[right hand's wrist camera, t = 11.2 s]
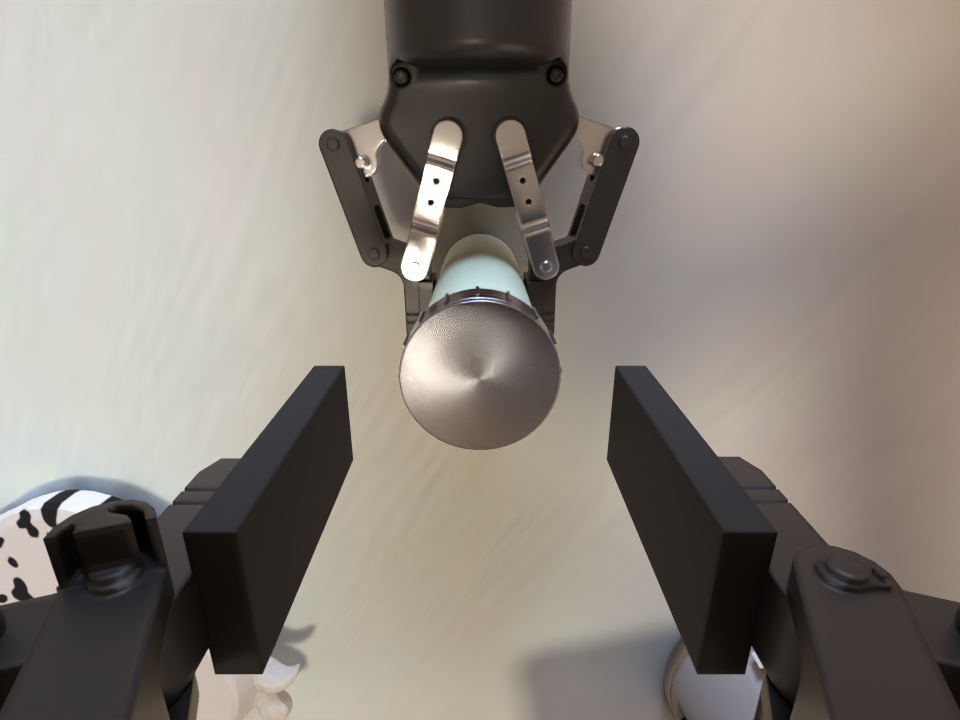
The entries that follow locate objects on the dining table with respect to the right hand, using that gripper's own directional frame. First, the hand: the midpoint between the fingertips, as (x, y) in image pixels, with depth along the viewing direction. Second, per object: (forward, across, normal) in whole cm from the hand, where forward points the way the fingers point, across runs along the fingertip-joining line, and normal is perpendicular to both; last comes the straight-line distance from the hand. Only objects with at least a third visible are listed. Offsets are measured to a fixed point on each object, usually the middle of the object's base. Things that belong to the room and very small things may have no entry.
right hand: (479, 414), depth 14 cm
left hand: (+13, 0, -3) cm, 13 cm away
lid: (+3, 0, 0) cm, 3 cm away
